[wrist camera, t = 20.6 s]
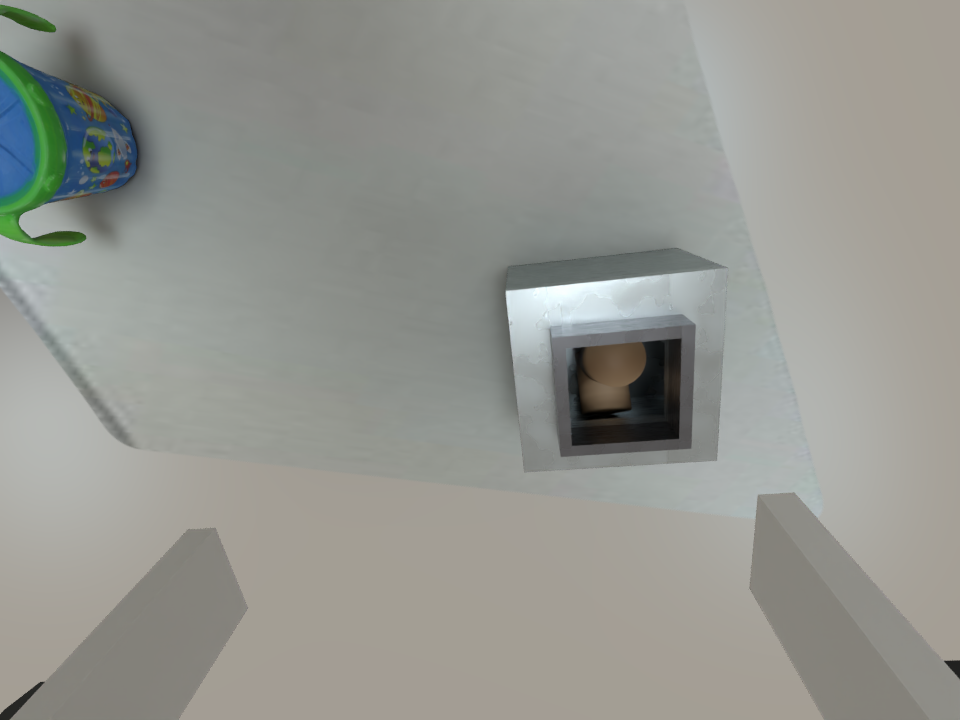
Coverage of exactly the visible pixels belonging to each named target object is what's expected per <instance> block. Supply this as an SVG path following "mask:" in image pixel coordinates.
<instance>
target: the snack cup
mask: <svg viewBox="0 0 960 720" xmlns="http://www.w3.org/2000/svg"><path fill="white" fill-rule="evenodd" d="M0 15H2V16H5V17H7V18H10V19H12V20H14V21H15V22H17V23H19V24H21V25H23V26H26V27H28V28H31V29H34V30H38V31H44V32H55V31H56V28H55V26H54V25H53V24H51V23H50V22H48V21H47V20H45V19H43V18H41V17H39V16H37V15H35V14H32V13H30V12H27V11H24V10H21V9H18V8H14V7H10V6H5V5H0ZM136 159H137V148H136V144H135V140H134V138H133V136H132V132H131V127H130V123H129V121H128V120H127V119H126V118H125V117H124V116H122V115H121V114H120V113H119V112H118V111H117V110H116V109H115V108H114V107H113V106H112V105H111V104H110V103H109V102H107V101H106V100H105V99H104V98H102V97H101V96H99V95H97V94H95V93H93V92H90V91H88V90H85V89H83V88H81V87H78V86H76V85H73V84H71V83H68V82H66V81H64V80H61V79H58V78H56V77H53V76H51V75H48V74H46V73H44V72H41V71H38V70H36V69H34V68H32V67H29V66H27V65H25V64H23V63H20V62H19V61H17V60H15V59H13V58H12V57H10V56H8V55H7V54H5V53H3V52H1V51H0V234H1V235H3V236H5V237H7V238H9V239H12V240H15V241H19V242H23V243H29V244H35V245H41V246H68V245H74V244H78V243H81V242H83V241H84V240H85V239H86V236H85V235H84V234H82V233H80V232H72V231H59V232H53V233H49V234H46V235H42V236H39V237H36V238H31V237H30V236H29V235H28V234H26V233H25V232H24V231H23V230H22V229H21V228H20V226H19V223H18V222H19V218H20V216H21V215H22V214H23V213H25V212H27V211H30V210H33V209H35V208H38V207H40V206H41V205H43V204H46V203H51V202H56V201H62V200H68V199H73V198H78V197H83V196H88V195H91V194H95V193H104V192H106V191H108V190H112V189H116V188H119V187H120V186H122V185H124V184H125V183H126V182H127V180H128V179H129V178H130V177H132V176H133V175H134V174H135V171H136V168H137V167H136Z"/></svg>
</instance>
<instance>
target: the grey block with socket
mask: <svg viewBox="0 0 960 720" xmlns="http://www.w3.org/2000/svg"><path fill="white" fill-rule="evenodd" d="M727 278H728V268H727V267H724V266H722V265H719V264H717V263H714V262H712V261H709V260H706V259H704V258H701V257H699V256H696V255H694V254H691V253H689V252H686V251H683V250H681V249H678V248H674V249H665V250H656V251H647V252H638V253H628V254H619V255H610V256H601V257H592V258H583V259H574V260H565V261H556V262H547V263H537V264H528V265H519V266H510V267H508V273H507V282H506V291H505V292H506V301H507V311H508V321H509V330H510V340H511V349H512V359H513V369H514V378H515V388H516V398H517V407H518V417H519V426H520V436H521V446H522V455H523V465H524V472H537V471H553V470H570V469H586V468H603V467H619V466H636V465H652V464H669V463H685V462H702V461H717V452H718V434H719V417H720V400H721V382H722V365H723V347H724V330H725V312H726V295H727ZM635 342H642V344H643V346H644V348H645V351H646V364H645V367H644V370H643V372H642V373H641V375H640V376H639V377H638V378H637V379H636V380H635V381H634V382H632V383H630V384H628V385H629V392H630V399H631V406H632V409H631V410H629V411H626V412H621V413H614V414H604V415H583V414H582V412H581V404H580V395H579V387H578V378H577V369H576V361H575V354H576V353H577V352H579V351H580V349H581V347H590V346H601V345H612V344H623V343H635Z"/></svg>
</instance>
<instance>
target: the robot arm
mask: <svg viewBox="0 0 960 720" xmlns="http://www.w3.org/2000/svg"><path fill="white" fill-rule="evenodd" d="M750 590H751V592H752V594H753V595H754V597H755V599H756V601H757V602H758V604H759V606H760V608H761V609H762V611H763V613H764V615H765V617H766V618H767V620H768V622H769V623H770V625H771V627H772V629H773V631H774V632H775V634H776V636H777V637H778V639H779V641H780V643H781V645H782V646H783V648H784V650H785V652H786V653H787V655H788V657H789V658H790V660H791V662H792V664H793V666H794V668H795V669H796V671H797V673H798V675H799V676H800V678H801V680H802V682H803V683H804V685H805V687H806V689H807V690H808V692H809V694H810V696H811V697H812V699H813V701H814V703H815V704H816V706H817V708H818V710H819V711H820V713H821V715H822V717H823V718H824V720H960V661H943V660H942V659H941V658H940V656H939V655H938V654H937V653H936V652H935V651H934V650H933V649H932V648H931V647H930V645H929V644H928V643H927V642H926V641H925V640H924V639H923V637H922V636H921V635H920V634H919V633H918V632H917V631H916V629H915V628H914V627H913V626H912V625H911V624H910V623H909V621H908V620H907V619H906V618H905V617H904V616H903V615H902V614H901V613H900V611H899V610H898V609H897V608H896V607H895V606H894V605H893V603H891V601H890V600H889V599H888V598H887V597H886V595H885V594H884V593H883V592H882V591H881V590H880V589H879V588H878V586H877V585H876V584H875V583H874V582H873V581H872V580H871V579H870V577H869V576H868V575H867V574H866V573H865V572H864V571H863V570H862V568H861V567H860V566H859V565H858V564H857V563H856V562H855V560H854V559H853V558H852V557H851V556H850V555H849V554H848V553H847V551H846V550H845V549H844V548H843V547H842V546H841V545H840V544H839V542H838V541H837V540H836V539H835V538H834V537H833V536H832V535H831V533H830V532H829V531H828V530H827V529H826V528H825V527H824V526H823V524H822V523H821V522H820V521H819V520H818V519H817V518H816V516H815V515H814V514H813V513H812V512H811V511H810V510H809V509H808V507H807V506H806V505H805V504H804V503H803V502H802V501H801V500H800V498H799V497H798V496H797V495H796V494H795V493H779V494H763V495H758V499H757V510H756V522H755V533H754V544H753V555H752V566H751V578H750ZM247 609H248V607H247V604H246V602H245V599H244V597H243V594H242V592H241V589H240V587H239V585H238V582H237V580H236V577H235V575H234V572H233V570H232V568H231V565H230V563H229V560H228V558H227V555H226V553H225V550H224V548H223V545H222V543H221V540H220V538H219V535H218V533H217V531H216V528H205V529H188V530H187V531H186V532H185V533H184V534H183V535H182V536H181V538H180V539H179V540H178V541H177V542H176V543H175V544H174V545H173V546H172V547H171V548H170V549H169V550H168V551H167V552H166V553H165V555H164V556H163V557H162V558H161V559H160V560H159V561H158V562H157V563H156V564H155V565H154V566H153V567H152V569H150V571H149V572H148V573H147V574H146V575H145V576H144V577H143V578H142V579H141V580H140V581H139V582H138V583H137V585H135V587H134V588H133V589H132V590H131V591H130V592H129V593H128V594H127V595H126V596H125V597H124V598H123V599H122V600H121V601H120V603H119V604H118V605H117V606H116V607H115V608H114V609H113V610H112V611H111V612H110V613H109V614H108V615H107V616H106V617H105V619H104V620H103V621H102V622H101V623H100V624H99V625H98V626H97V627H96V628H95V629H94V630H93V631H92V632H91V634H90V635H89V636H88V637H87V638H86V639H85V640H84V641H83V642H82V643H81V644H80V645H79V646H78V648H77V649H76V650H75V651H74V652H73V653H72V654H71V655H70V656H69V657H68V658H67V659H66V660H65V661H64V662H63V664H62V665H61V666H60V667H59V668H58V669H57V670H56V671H55V672H54V673H53V674H52V675H51V676H50V677H49V679H47V680H46V682H40V683H38V684H37V685H36V686H35V687H33V688H32V689H31V690H30V691H28V692H27V693H25V694H24V695H23V696H22V697H20V698H19V699H18V700H16V701H15V702H14V703H13V704H11V705H10V706H9V707H7V708H6V709H5V710H4V711H3V712H2V713H1V714H0V720H178V719H179V718H180V716H181V715H182V713H183V712H184V710H185V708H186V707H187V705H188V704H189V702H190V700H191V699H192V697H193V695H194V694H195V692H196V690H197V689H198V688H199V686H200V684H201V683H202V681H203V679H204V678H205V676H206V675H207V673H208V671H209V670H210V668H211V667H212V665H213V664H214V662H215V660H216V659H217V657H218V655H219V654H220V652H221V651H222V649H223V647H224V646H225V644H226V643H227V641H228V640H229V638H230V636H231V635H232V633H233V631H234V630H235V628H236V627H237V625H238V623H239V622H240V620H241V619H242V617H243V615H244V614H245V612H246V611H247Z"/></svg>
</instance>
